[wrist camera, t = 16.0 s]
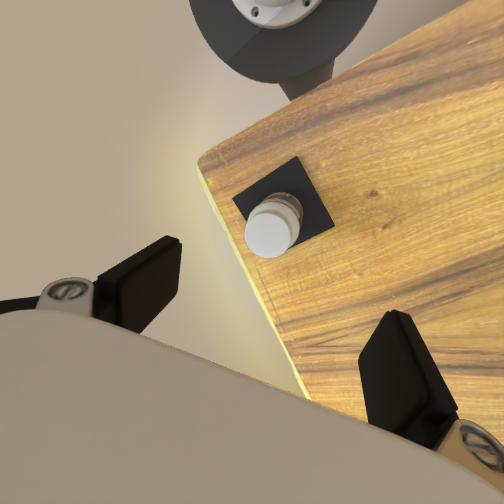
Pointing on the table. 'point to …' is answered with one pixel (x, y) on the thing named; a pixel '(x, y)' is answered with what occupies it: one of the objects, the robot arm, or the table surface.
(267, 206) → the pill bottle
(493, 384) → the table surface
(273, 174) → the mat
